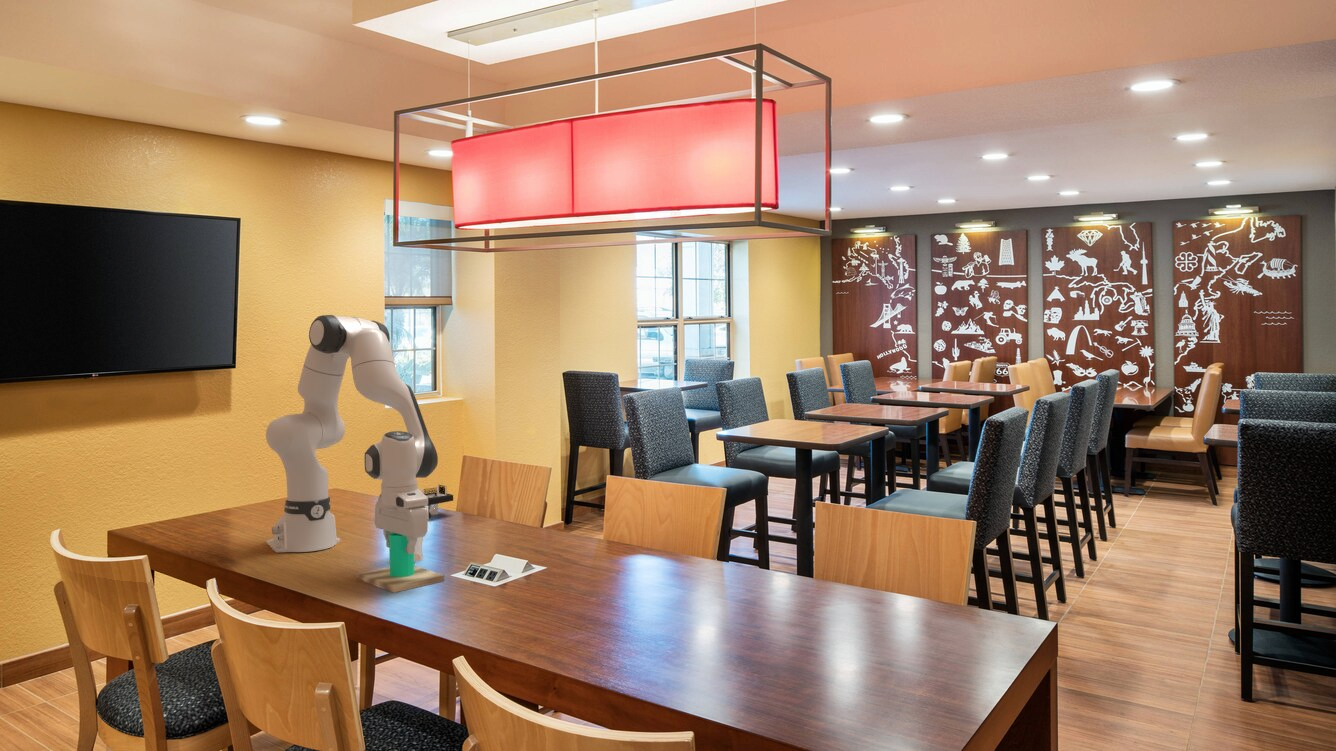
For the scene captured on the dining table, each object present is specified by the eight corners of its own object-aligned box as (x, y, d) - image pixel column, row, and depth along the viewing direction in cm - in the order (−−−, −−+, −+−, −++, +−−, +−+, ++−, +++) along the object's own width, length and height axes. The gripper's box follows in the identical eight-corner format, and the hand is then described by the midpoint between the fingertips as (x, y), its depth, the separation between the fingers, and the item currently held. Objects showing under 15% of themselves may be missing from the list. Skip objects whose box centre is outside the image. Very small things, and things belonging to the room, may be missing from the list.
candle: (407, 569, 226) (406, 523, 225) (418, 573, 222) (418, 527, 221) (385, 574, 221) (384, 527, 221) (397, 578, 217) (396, 530, 217)
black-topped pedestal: (412, 539, 270) (411, 496, 270) (373, 527, 289) (373, 487, 288) (489, 526, 290) (489, 486, 289) (449, 515, 308) (448, 477, 308)
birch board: (357, 579, 222) (357, 573, 222) (407, 568, 233) (407, 563, 233) (393, 592, 210) (393, 586, 210) (444, 581, 220) (444, 575, 220)
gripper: (367, 493, 225) (368, 546, 226) (409, 502, 211) (409, 559, 212) (390, 490, 230) (390, 542, 231) (432, 499, 216) (432, 554, 216)
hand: (400, 550), depth 221 cm, fingers open, 8 cm apart
